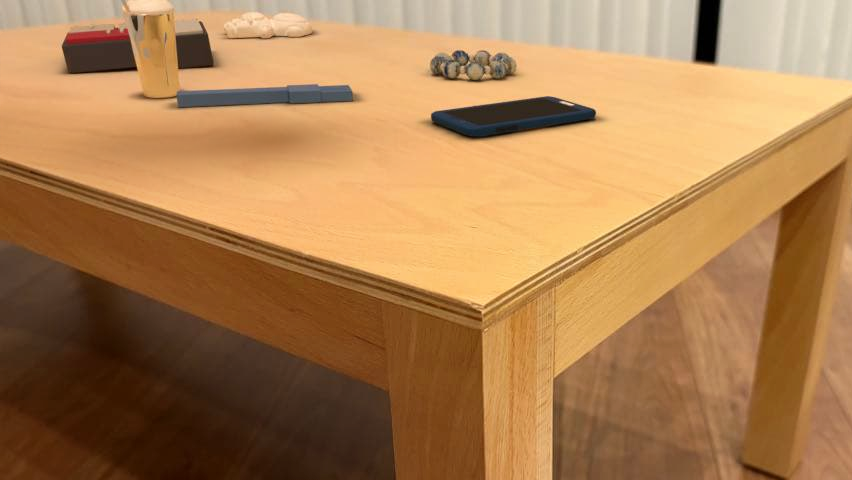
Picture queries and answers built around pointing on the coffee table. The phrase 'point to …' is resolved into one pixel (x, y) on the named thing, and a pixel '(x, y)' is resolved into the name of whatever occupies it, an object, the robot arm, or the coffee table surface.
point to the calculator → (130, 47)
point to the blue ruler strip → (265, 95)
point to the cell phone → (512, 115)
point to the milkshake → (153, 45)
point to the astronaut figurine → (267, 26)
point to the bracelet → (472, 64)
